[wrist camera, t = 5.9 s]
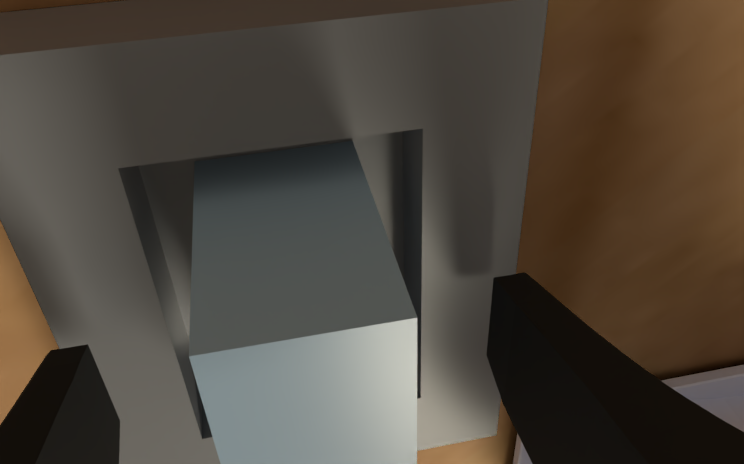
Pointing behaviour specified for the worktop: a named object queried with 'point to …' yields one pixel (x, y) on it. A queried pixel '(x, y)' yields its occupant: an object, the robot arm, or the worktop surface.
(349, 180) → the block
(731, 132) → the worktop surface
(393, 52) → the grey slotted base
